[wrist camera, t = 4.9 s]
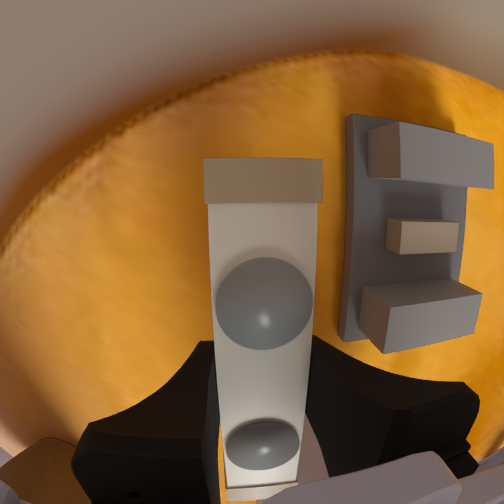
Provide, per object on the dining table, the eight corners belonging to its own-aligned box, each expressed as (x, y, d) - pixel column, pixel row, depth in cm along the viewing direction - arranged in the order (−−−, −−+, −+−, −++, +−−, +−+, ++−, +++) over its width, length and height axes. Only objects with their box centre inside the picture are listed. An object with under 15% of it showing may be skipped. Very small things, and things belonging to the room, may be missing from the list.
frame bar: (223, 450, 14) (227, 503, 11) (207, 166, 11) (203, 158, 8) (282, 446, 15) (296, 496, 11) (292, 165, 12) (323, 158, 8)
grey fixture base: (442, 318, 23) (478, 343, 18) (337, 334, 22) (365, 370, 17) (456, 136, 20) (500, 132, 15) (345, 117, 18) (382, 100, 14)
